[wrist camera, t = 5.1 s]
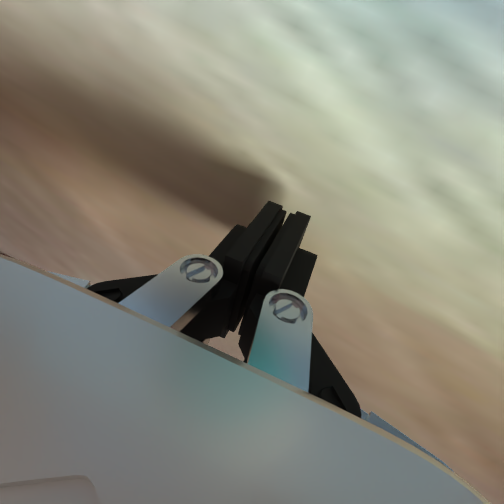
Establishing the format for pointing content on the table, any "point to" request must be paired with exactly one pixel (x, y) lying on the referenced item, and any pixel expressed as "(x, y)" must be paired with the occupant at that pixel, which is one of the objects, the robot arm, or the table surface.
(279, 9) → the table surface
